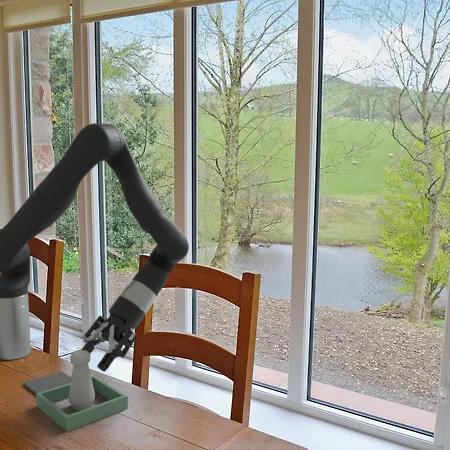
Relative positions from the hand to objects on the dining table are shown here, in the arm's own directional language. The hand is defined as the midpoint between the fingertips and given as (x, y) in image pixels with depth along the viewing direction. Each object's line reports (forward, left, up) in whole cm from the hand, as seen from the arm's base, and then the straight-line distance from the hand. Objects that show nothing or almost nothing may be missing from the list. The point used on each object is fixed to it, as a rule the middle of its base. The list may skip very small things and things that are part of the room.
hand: (90, 363), depth 123 cm
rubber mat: (-15, -2, -10) cm, 18 cm away
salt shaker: (0, -3, -10) cm, 10 cm away
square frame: (0, -2, -10) cm, 10 cm away
